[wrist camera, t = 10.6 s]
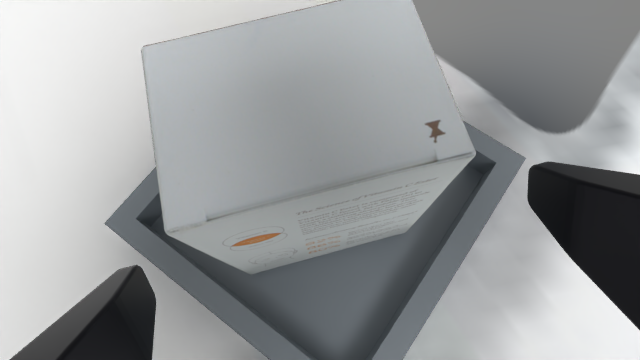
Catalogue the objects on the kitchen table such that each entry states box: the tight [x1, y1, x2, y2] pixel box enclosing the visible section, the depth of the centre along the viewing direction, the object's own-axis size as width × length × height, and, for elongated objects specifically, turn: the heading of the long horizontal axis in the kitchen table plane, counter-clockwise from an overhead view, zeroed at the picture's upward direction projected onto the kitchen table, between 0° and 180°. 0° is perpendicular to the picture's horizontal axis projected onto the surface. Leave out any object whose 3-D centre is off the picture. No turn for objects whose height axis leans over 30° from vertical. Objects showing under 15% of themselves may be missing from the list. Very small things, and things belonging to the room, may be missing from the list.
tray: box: [105, 121, 526, 360], centre depth 20 cm, size 14×14×2 cm
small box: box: [141, 0, 476, 275], centre depth 15 cm, size 8×6×10 cm
